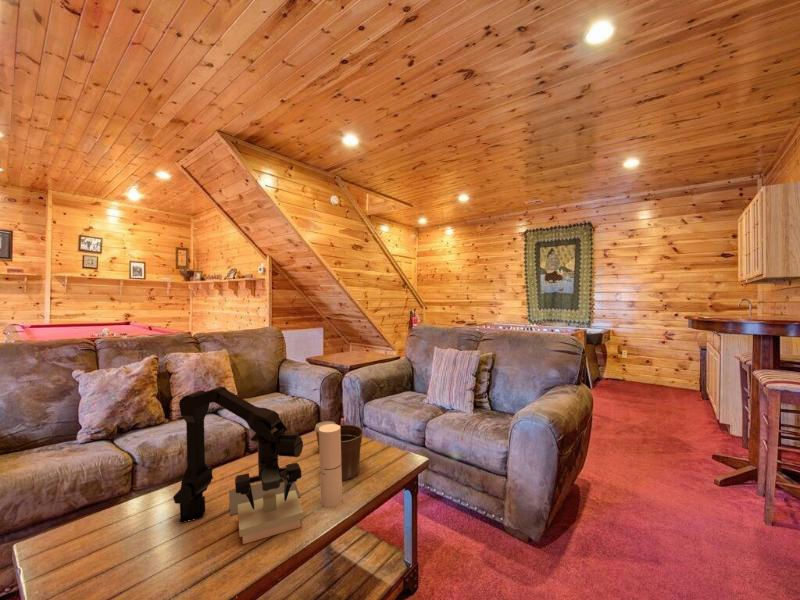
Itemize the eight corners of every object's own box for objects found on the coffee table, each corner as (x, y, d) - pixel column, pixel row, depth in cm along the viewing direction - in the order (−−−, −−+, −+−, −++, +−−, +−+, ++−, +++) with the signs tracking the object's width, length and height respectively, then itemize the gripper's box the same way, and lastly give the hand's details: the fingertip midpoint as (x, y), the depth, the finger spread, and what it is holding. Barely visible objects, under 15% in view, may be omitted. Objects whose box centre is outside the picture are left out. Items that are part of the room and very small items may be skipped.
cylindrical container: (337, 508, 119) (335, 432, 119) (317, 506, 121) (315, 431, 120) (345, 496, 126) (343, 424, 126) (325, 494, 128) (324, 423, 127)
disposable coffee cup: (339, 447, 166) (339, 420, 165) (334, 456, 156) (333, 429, 156) (319, 446, 167) (318, 420, 166) (312, 456, 157) (311, 428, 157)
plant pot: (361, 484, 134) (360, 441, 133) (317, 484, 134) (316, 441, 134) (366, 463, 150) (365, 424, 149) (327, 463, 150) (326, 424, 150)
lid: (239, 537, 102) (238, 516, 102) (237, 510, 115) (237, 492, 114) (303, 518, 110) (302, 499, 110) (295, 495, 122) (294, 478, 122)
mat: (230, 515, 117) (230, 514, 117) (229, 491, 131) (229, 490, 131) (300, 497, 126) (300, 496, 126) (292, 476, 140) (292, 475, 140)
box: (242, 544, 103) (242, 530, 103) (241, 520, 114) (240, 507, 114) (300, 527, 110) (300, 514, 110) (293, 506, 121) (293, 494, 121)
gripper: (235, 473, 100) (237, 529, 101) (304, 458, 108) (305, 510, 109) (234, 456, 110) (235, 507, 111) (297, 444, 118) (298, 491, 119)
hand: (269, 504), depth 112 cm, fingers open, 9 cm apart
